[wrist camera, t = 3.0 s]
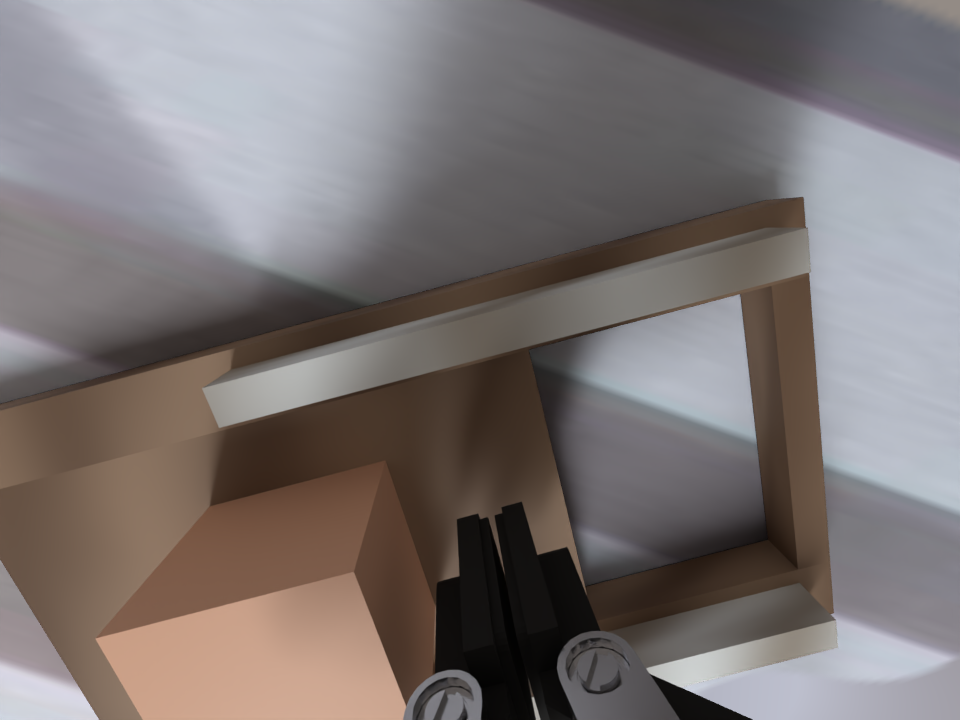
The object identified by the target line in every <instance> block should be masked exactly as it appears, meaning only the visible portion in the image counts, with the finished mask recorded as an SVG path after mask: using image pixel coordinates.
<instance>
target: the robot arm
mask: <svg viewBox="0 0 960 720" xmlns="http://www.w3.org/2000/svg"><path fill="white" fill-rule="evenodd" d="M501 509H502V513H501V514H497V515H494V516H495V522H496V528H497V533H498V539H499V544H500V550H501V555H502V561H503V567H504V570H503V567H502V563H501V560H500V556H499V553H498V550H497V546H496V543H495V539H494V536H493V532H492V529H491V525H490V522H489V519H488V517H486V518H482V519H480V517H479V514H478V513H477V514H474V515H470V516H466V517H463V518H459V519H457V536H458V557H459V576H457V577H454V578H450V579H446V580H443V581H439V582H438V583H437V587H436V637H435V675H433V676H431V677H429V678H428V679H426V680H425V681H424V682H423V683H422V684H421V685H419V686H418V687H417V688H416V690H415V691H414V693H413V694H412V696H411V697H410V699H409V701H408V704H407V707H406V709H405V713H404V717H403V720H536V717H535V712H534V706H533V701H532V696H531V691H530V686H531V689H532V693H533V696H534V699H535V703H536V706H537V710H538V713H539V716H540V720H752V719H750V718H748V717H746V716H743V715H741V714H739V713H737V712H734V711H732V710H730V709H728V708H725V707H723V706H721V705H719V704H716V703H714V702H712V701H710V700H707V699H705V698H703V697H701V696H698V695H696V694H694V693H692V692H690V691H687V690H685V689H683V688H681V687H678V686H676V685H674V684H672V683H669V682H667V681H665V680H663V679H660V678H658V677H656V676H654V675H651V674H649V672H648V671H647V669H646V667H645V666H644V664H643V663H642V661H641V660H640V658H639V657H638V655H637V654H636V652H635V651H634V649H633V648H632V647H631V646H630V645H629V644H628V643H627V642H626V640H624V639H622V638H621V637H619V636H617V635H616V634H613V633H609V632H605V631H601V630H600V628H599V625H598V623H597V620H596V618H595V615H594V613H593V610H592V607H591V605H590V602H589V600H588V597H587V595H586V592H585V590H584V587H583V585H582V582H581V579H580V577H579V574H578V572H577V569H576V567H575V564H574V562H573V559H572V557H571V554H570V552H569V549H568V547H565V548H561V549H557V550H553V551H550V552H546V553H542V554H539V555H537V552H536V548H535V545H534V541H533V538H532V535H531V531H530V528H529V524H528V521H527V517H526V514H525V510H524V507H523V504H522V502H518V503H514V504H511V505H507V506H503V507H501ZM504 572H505V574H504ZM528 679H529V680H528ZM529 682H530V685H529Z"/></svg>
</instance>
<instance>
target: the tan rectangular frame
mask: <svg viewBox="0 0 960 720" xmlns="http://www.w3.org/2000/svg"><path fill="white" fill-rule="evenodd" d="M809 272H811V268H810V254H809V240H808V228H806V226H805V212H804V199H803V197H798V198H786V199H774V200H765V201H761V202H757V203H754V204H750V205H746V206H742V207H739V208H735V209H731V210H727V211H724V212H720V213H716V214H712V215H709V216H705V217H701V218H697V219H694V220H690V221H686V222H682V223H679V224H675V225H671V226H667V227H664V228H660V229H656V230H652V231H648V232H645V233H641V234H637V235H633V236H630V237H626V238H622V239H618V240H615V241H611V242H607V243H603V244H600V245H596V246H592V247H588V248H585V249H581V250H577V251H573V252H570V253H566V254H562V255H558V256H555V257H551V258H547V259H543V260H540V261H536V262H532V263H528V264H524V265H521V266H517V267H513V268H509V269H506V270H502V271H498V272H494V273H491V274H487V275H483V276H479V277H476V278H472V279H468V280H464V281H461V282H457V283H453V284H449V285H446V286H442V287H438V288H434V289H431V290H427V291H423V292H419V293H416V294H412V295H408V296H404V297H401V298H397V299H393V300H389V301H385V302H382V303H378V304H374V305H370V306H367V307H363V308H359V309H355V310H352V311H348V312H344V313H340V314H337V315H333V316H329V317H325V318H322V319H318V320H314V321H310V322H307V323H303V324H299V325H295V326H292V327H288V328H284V329H280V330H277V331H273V332H269V333H265V334H261V335H258V336H254V337H250V338H246V339H243V340H239V341H235V342H231V343H228V344H224V345H220V346H216V347H213V348H209V349H205V350H201V351H198V352H194V353H190V354H186V355H183V356H179V357H175V358H171V359H168V360H164V361H160V362H156V363H153V364H149V365H145V366H141V367H137V368H134V369H130V370H126V371H122V372H119V373H115V374H111V375H107V376H104V377H100V378H96V379H92V380H89V381H85V382H81V383H77V384H74V385H70V386H66V387H62V388H59V389H55V390H51V391H47V392H44V393H40V394H36V395H32V396H29V397H25V398H21V399H17V400H14V401H10V402H6V403H2V404H0V560H1V561H2V563H3V565H4V566H5V568H6V570H7V571H8V573H9V574H10V576H11V578H12V579H13V581H14V583H15V584H16V586H17V587H18V589H19V591H20V592H21V594H22V595H23V597H24V599H25V600H26V602H27V604H28V605H29V607H30V608H31V610H32V612H33V613H34V615H35V617H36V618H37V620H38V621H39V623H40V625H41V626H42V628H43V629H44V631H45V633H46V634H47V636H48V638H49V639H50V641H51V642H52V644H53V646H54V647H55V649H56V650H57V652H58V654H59V655H60V657H61V659H62V660H63V662H64V663H65V665H66V667H67V668H68V670H69V672H70V673H71V675H72V676H73V678H74V680H75V681H76V683H77V684H78V686H79V688H80V689H81V691H82V693H83V694H84V696H85V697H86V699H87V701H88V702H89V704H90V706H91V707H92V709H93V710H94V712H95V714H96V715H97V717H98V718H99V720H143V719H142V718H141V716H140V714H139V713H138V711H137V709H136V707H135V706H134V704H133V702H132V701H131V699H130V697H129V695H128V694H127V692H126V690H125V689H124V687H123V685H122V684H121V682H120V680H119V678H118V677H117V675H116V673H115V672H114V670H113V668H112V666H111V665H110V663H109V661H108V660H107V658H106V656H105V655H104V653H103V651H102V649H101V648H100V646H99V644H98V643H97V641H96V639H95V638H96V637H97V636H98V635H99V634H100V632H101V631H102V630H103V629H104V628H105V627H106V626H107V624H108V623H109V622H110V621H111V620H112V619H113V617H114V616H115V615H116V614H117V613H118V612H119V611H120V609H121V608H122V607H123V606H124V605H125V604H126V602H127V601H128V600H129V599H130V598H131V597H132V596H133V594H134V593H135V592H136V591H137V590H138V589H139V587H140V586H141V585H142V584H143V583H144V582H145V581H146V579H147V578H148V577H149V576H150V575H151V574H152V572H153V571H154V570H155V569H156V568H157V567H158V566H159V564H160V563H161V562H162V561H163V560H164V559H165V557H166V556H167V555H168V554H169V553H170V552H171V551H172V549H173V548H174V547H175V546H176V545H177V544H178V542H179V541H180V540H181V539H182V538H183V537H184V536H185V534H186V533H187V532H188V531H189V530H190V529H191V527H192V526H193V525H194V524H195V523H196V522H197V520H198V519H199V518H200V517H201V516H202V515H203V514H204V512H205V511H206V510H207V509H208V508H209V507H210V506H213V505H217V504H221V503H225V502H228V501H232V500H236V499H240V498H244V497H248V496H251V495H255V494H259V493H263V492H267V491H270V490H274V489H278V488H282V487H286V486H290V485H293V484H297V483H301V482H305V481H309V480H312V479H316V478H320V477H324V476H328V475H332V474H335V473H339V472H343V471H347V470H351V469H355V468H358V467H362V466H366V465H370V464H374V463H377V462H381V461H386V464H387V466H388V469H389V472H390V475H391V478H392V481H393V484H394V487H395V490H396V493H397V496H398V499H399V501H400V504H401V507H402V510H403V513H404V516H405V519H406V522H407V525H408V528H409V531H410V534H411V537H412V539H413V542H414V545H415V548H416V551H417V554H418V557H419V560H420V563H421V566H422V569H423V572H424V574H425V577H426V580H427V583H428V586H429V589H430V592H431V595H432V598H433V601H434V604H435V630H434V653H433V675H435V637H436V587H437V583H438V582H439V581H443V580H446V579H450V578H454V577H457V576H459V557H458V536H457V519H459V518H463V517H466V516H470V515H474V514H477V513H478V514H479V517H480V519H482V518H486V517H488V519H489V522H490V525H491V529H492V532H493V536H494V539H495V543H496V546H497V550H498V553H499V556H500V560H501V563H502V567H503V561H502V555H501V550H500V544H499V539H498V533H497V528H496V522H495V516H494V515H497V514H501V513H502V509H501V507H503V506H507V505H511V504H514V503H518V502H522V504H523V507H524V510H525V514H526V517H527V521H528V524H529V528H530V531H531V535H532V538H533V541H534V545H535V548H536V552H537V555H539V554H542V553H546V552H550V551H553V550H557V549H561V548H565V547H568V549H569V552H570V554H571V557H572V559H573V562H574V564H575V567H576V569H577V572H578V574H579V577H580V579H581V582H582V585H583V587H584V590H585V592H586V595H587V597H588V600H589V602H590V605H591V607H592V610H593V613H594V615H595V618H596V620H597V623H598V625H599V628H600V630H601V631H605V632H609V633H613V634H616V635H617V636H619V637H621V638H622V639H624V640H626V642H627V643H628V644H629V645H630V646H631V647H632V648H633V649H634V651H635V652H636V654H637V655H638V657H639V658H640V660H641V661H642V663H643V664H644V666H645V667H646V669H647V671H648V672H649V674H651V675H654V676H656V677H658V678H660V679H663V680H665V681H667V682H669V683H672V684H674V685H676V686H678V687H684V686H688V685H692V684H696V683H700V682H704V681H708V680H712V679H716V678H720V677H724V676H728V675H731V674H735V673H739V672H743V671H747V670H751V669H755V668H759V667H763V666H767V665H771V664H775V663H779V662H783V661H787V660H791V659H795V658H799V657H803V656H807V655H811V654H814V653H818V652H822V651H826V650H830V649H834V648H838V643H837V629H836V620H835V619H834V618H833V617H832V616H831V615H830V614H833V613H834V609H833V596H832V582H831V568H830V555H829V541H828V527H827V514H826V500H825V486H824V473H823V459H822V445H821V432H820V418H819V404H818V390H817V377H816V363H815V349H814V336H813V322H812V308H811V295H810V281H809ZM738 294H741V303H742V312H743V321H744V329H745V338H746V347H747V356H748V365H749V374H750V383H751V392H752V401H753V410H754V419H755V428H756V436H757V445H758V454H759V463H760V472H761V481H762V490H763V499H764V508H765V517H766V526H767V534H768V540H765V541H761V542H758V543H754V544H750V545H746V546H742V547H738V548H734V549H730V550H726V551H722V552H719V553H715V554H711V555H707V556H703V557H699V558H695V559H691V560H687V561H683V562H680V563H676V564H672V565H668V566H664V567H660V568H656V569H652V570H648V571H645V572H641V573H637V574H633V575H629V576H625V577H621V578H617V579H613V580H609V581H606V582H602V583H598V584H594V585H590V586H586V587H585V584H584V580H583V576H582V572H581V567H580V563H579V559H578V555H577V551H576V546H575V542H574V538H573V534H572V530H571V525H570V521H569V517H568V513H567V509H566V504H565V500H564V496H563V492H562V488H561V483H560V479H559V475H558V471H557V467H556V462H555V458H554V454H553V450H552V446H551V441H550V437H549V433H548V429H547V425H546V420H545V416H544V412H543V408H542V404H541V399H540V395H539V391H538V387H537V383H536V378H535V374H534V370H533V366H532V362H531V357H530V353H529V349H533V348H537V347H541V346H545V345H548V344H552V343H556V342H560V341H564V340H567V339H571V338H575V337H579V336H583V335H586V334H590V333H594V332H598V331H602V330H605V329H609V328H613V327H617V326H620V325H624V324H628V323H632V322H636V321H639V320H643V319H647V318H651V317H655V316H658V315H662V314H666V313H670V312H674V311H677V310H681V309H685V308H689V307H693V306H696V305H700V304H704V303H708V302H711V301H715V300H719V299H723V298H727V297H730V296H734V295H738ZM503 570H504V567H503ZM504 574H505V572H504ZM528 680H529V679H528ZM529 685H530V682H529ZM530 691H531V696H532V701H533V706H534V712H535V717H536V720H540V716H539V713H538V710H537V706H536V703H535V699H534V696H533V693H532V689H531V686H530Z"/></svg>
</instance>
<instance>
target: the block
mask: <svg viewBox="0 0 960 720" xmlns="http://www.w3.org/2000/svg"><path fill="white" fill-rule="evenodd" d="M434 630H435V604H434V601H433V598H432V595H431V592H430V589H429V586H428V583H427V580H426V577H425V574H424V572H423V569H422V566H421V563H420V560H419V557H418V554H417V551H416V548H415V545H414V542H413V539H412V537H411V534H410V531H409V528H408V525H407V522H406V519H405V516H404V513H403V510H402V507H401V504H400V501H399V499H398V496H397V493H396V490H395V487H394V484H393V481H392V478H391V475H390V472H389V469H388V466H387V464H386V461H381V462H377V463H374V464H370V465H366V466H362V467H358V468H355V469H351V470H347V471H343V472H339V473H335V474H332V475H328V476H324V477H320V478H316V479H312V480H309V481H305V482H301V483H297V484H293V485H290V486H286V487H282V488H278V489H274V490H270V491H267V492H263V493H259V494H255V495H251V496H248V497H244V498H240V499H236V500H232V501H228V502H225V503H221V504H217V505H213V506H210V507H209V508H208V509H207V510H206V511H205V512H204V514H203V515H202V516H201V517H200V518H199V519H198V520H197V522H196V523H195V524H194V525H193V526H192V527H191V529H190V530H189V531H188V532H187V533H186V534H185V536H184V537H183V538H182V539H181V540H180V541H179V542H178V544H177V545H176V546H175V547H174V548H173V549H172V551H171V552H170V553H169V554H168V555H167V556H166V557H165V559H164V560H163V561H162V562H161V563H160V564H159V566H158V567H157V568H156V569H155V570H154V571H153V572H152V574H151V575H150V576H149V577H148V578H147V579H146V581H145V582H144V583H143V584H142V585H141V586H140V587H139V589H138V590H137V591H136V592H135V593H134V594H133V596H132V597H131V598H130V599H129V600H128V601H127V602H126V604H125V605H124V606H123V607H122V608H121V609H120V611H119V612H118V613H117V614H116V615H115V616H114V617H113V619H112V620H111V621H110V622H109V623H108V624H107V626H106V627H105V628H104V629H103V630H102V631H101V632H100V634H99V635H98V636H97V637H96V638H95V639H96V641H97V643H98V644H99V646H100V648H101V649H102V651H103V653H104V655H105V656H106V658H107V660H108V661H109V663H110V665H111V666H112V668H113V670H114V672H115V673H116V675H117V677H118V678H119V680H120V682H121V684H122V685H123V687H124V689H125V690H126V692H127V694H128V695H129V697H130V699H131V701H132V702H133V704H134V706H135V707H136V709H137V711H138V713H139V714H140V716H141V718H142V719H143V720H403V717H404V713H405V709H406V707H407V704H408V701H409V699H410V697H411V696H412V694H413V693H414V691H415V690H416V688H417V687H418V686H419V685H421V684H422V683H423V682H424V681H425V680H426V679H428V678H429V677H431V676H433V653H434Z"/></svg>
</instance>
